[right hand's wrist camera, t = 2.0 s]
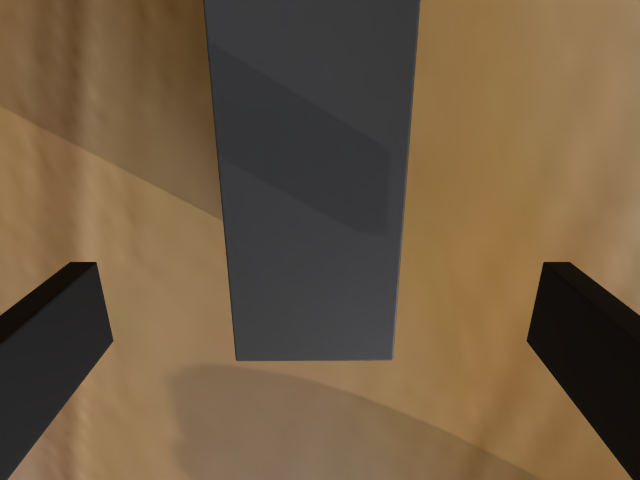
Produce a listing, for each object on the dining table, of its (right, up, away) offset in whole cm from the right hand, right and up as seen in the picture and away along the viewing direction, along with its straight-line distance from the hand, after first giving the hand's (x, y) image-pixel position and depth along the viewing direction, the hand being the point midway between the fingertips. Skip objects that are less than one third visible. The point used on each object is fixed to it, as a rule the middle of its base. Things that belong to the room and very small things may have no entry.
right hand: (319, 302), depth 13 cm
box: (0, +14, +8) cm, 16 cm away
